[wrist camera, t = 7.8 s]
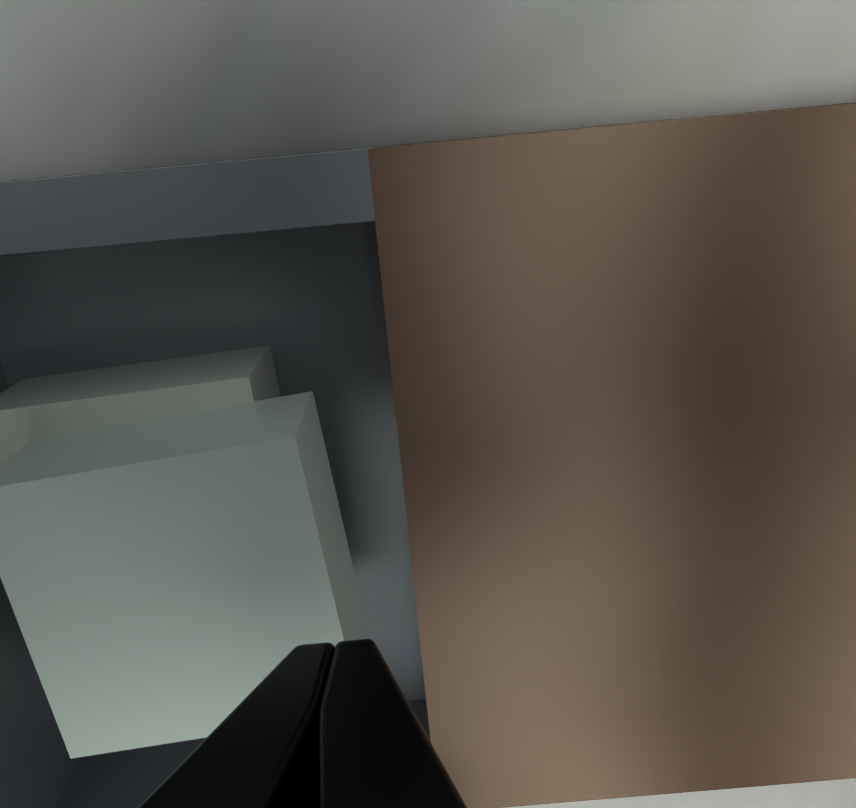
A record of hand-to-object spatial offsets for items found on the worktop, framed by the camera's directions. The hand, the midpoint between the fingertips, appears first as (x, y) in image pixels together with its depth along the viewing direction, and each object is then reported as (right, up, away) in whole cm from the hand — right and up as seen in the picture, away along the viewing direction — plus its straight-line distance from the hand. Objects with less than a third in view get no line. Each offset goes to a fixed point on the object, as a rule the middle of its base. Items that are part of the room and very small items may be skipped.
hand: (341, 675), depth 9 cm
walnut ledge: (+7, +2, +7) cm, 10 cm away
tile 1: (-3, +1, +5) cm, 5 cm away
